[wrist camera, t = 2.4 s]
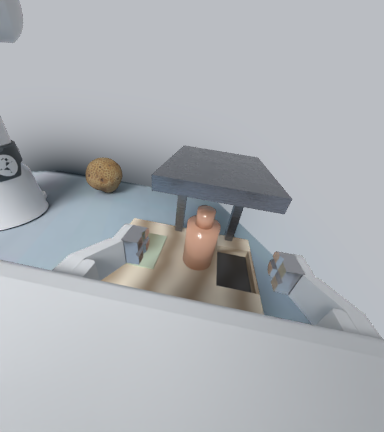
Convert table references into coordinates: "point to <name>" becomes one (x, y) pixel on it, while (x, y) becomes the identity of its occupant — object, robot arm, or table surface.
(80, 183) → the table surface
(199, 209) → the terracotta bottle
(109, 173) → the natural sponge
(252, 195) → the tunnel roof
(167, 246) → the birch board
